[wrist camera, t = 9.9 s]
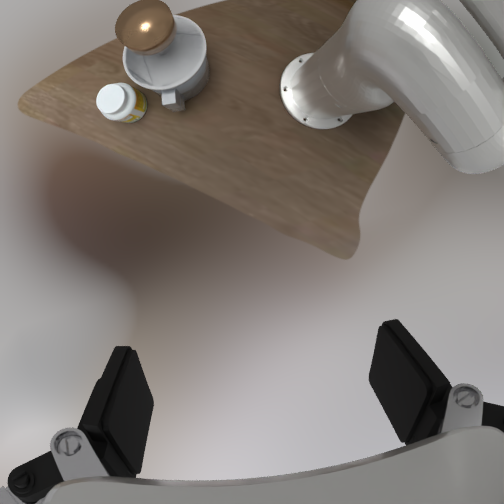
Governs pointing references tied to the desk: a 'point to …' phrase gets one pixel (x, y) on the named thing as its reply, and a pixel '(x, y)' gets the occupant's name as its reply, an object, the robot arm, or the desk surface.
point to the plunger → (146, 27)
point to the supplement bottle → (121, 103)
